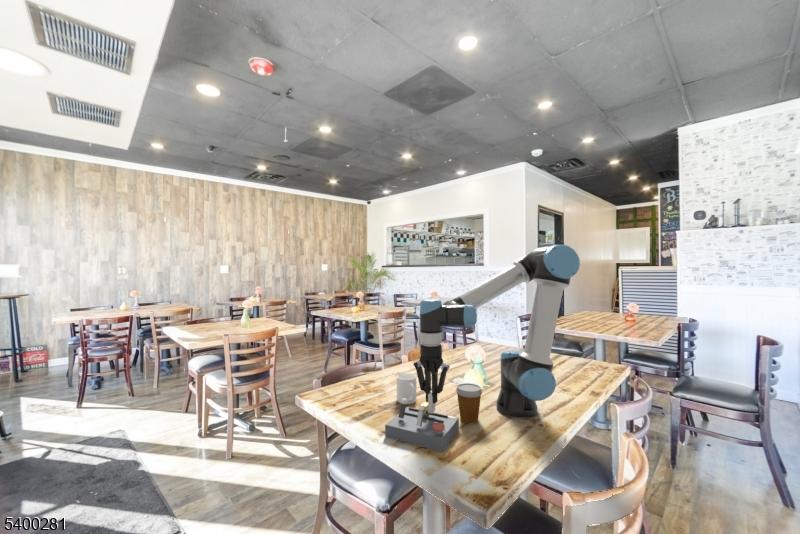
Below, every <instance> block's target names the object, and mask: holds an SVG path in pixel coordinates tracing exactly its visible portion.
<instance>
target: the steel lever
mask: <svg viewBox="0 0 800 534" xmlns="http://www.w3.org/2000/svg"><path fill="white" fill-rule="evenodd" d="M417 409H419V412H418V418H417V424H416V426H420V427H422V421H423V415H424V411H425V406H424V405H422V404H419V406H418V408H417Z"/></svg>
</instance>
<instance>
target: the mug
mask: <svg viewBox="0 0 800 534" xmlns="http://www.w3.org/2000/svg"><path fill="white" fill-rule="evenodd" d="M403 398H406V399H407V401H408V402H407V404H406V406H407V405H412V404H415V403H416V401H417V375H416V374H412V373H401V374H398V375H397V376H396V401H397V402H398V403H399V404H401V400H402V399H403Z"/></svg>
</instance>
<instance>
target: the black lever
mask: <svg viewBox="0 0 800 534" xmlns="http://www.w3.org/2000/svg"><path fill="white" fill-rule="evenodd" d="M407 402H408V401H407V399H406V398H403V399H402V400H401V403H400V407H399V413H398V414H399V416H398V417H399V418H402V419H403V418H404V413H405V409H406V408H407V405H408V404H407ZM406 404H407V405H406Z"/></svg>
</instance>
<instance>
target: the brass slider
mask: <svg viewBox="0 0 800 534" xmlns="http://www.w3.org/2000/svg"><path fill="white" fill-rule="evenodd" d="M421 405H424V406H425V411H424V415H423V416H427V415H428V414H429V413H428V402H423V403H422V404H421Z"/></svg>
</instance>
